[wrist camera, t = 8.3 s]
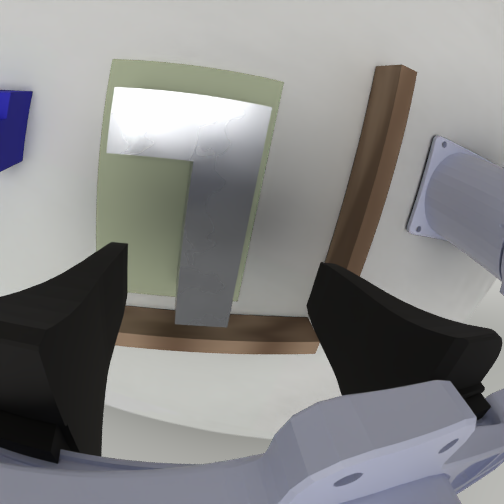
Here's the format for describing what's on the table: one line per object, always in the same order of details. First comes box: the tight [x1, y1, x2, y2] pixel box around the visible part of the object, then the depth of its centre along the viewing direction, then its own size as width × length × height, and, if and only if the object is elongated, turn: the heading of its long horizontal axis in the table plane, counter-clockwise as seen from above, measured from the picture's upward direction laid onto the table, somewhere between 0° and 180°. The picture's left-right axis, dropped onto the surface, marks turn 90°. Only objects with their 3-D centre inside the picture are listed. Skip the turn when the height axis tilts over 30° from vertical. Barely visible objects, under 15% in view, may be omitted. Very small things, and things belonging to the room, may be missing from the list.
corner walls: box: [115, 65, 417, 354], centre depth 18 cm, size 21×21×3 cm
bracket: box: [106, 87, 272, 327], centre depth 17 cm, size 12×7×4 cm, turn 169°
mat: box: [96, 59, 284, 301], centre depth 19 cm, size 10×15×1 cm, turn 169°
